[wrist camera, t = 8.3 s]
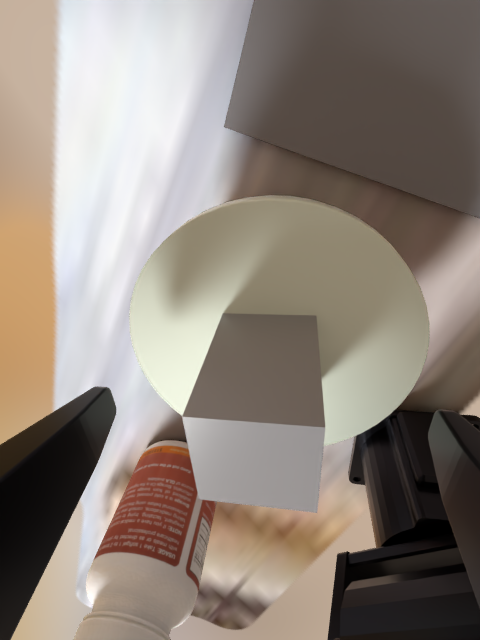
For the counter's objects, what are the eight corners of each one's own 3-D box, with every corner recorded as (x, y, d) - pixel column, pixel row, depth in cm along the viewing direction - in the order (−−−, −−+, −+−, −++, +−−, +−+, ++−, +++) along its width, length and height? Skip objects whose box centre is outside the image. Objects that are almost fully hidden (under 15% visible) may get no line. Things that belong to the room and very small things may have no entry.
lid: (393, 443, 14) (437, 598, 10) (163, 425, 16) (109, 550, 11) (458, 188, 9) (617, 262, 4) (108, 200, 11) (-35, 262, 6)
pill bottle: (126, 455, 26) (27, 649, 16) (179, 424, 23) (96, 636, 14) (185, 498, 28) (125, 695, 18) (240, 474, 25) (204, 692, 15)
